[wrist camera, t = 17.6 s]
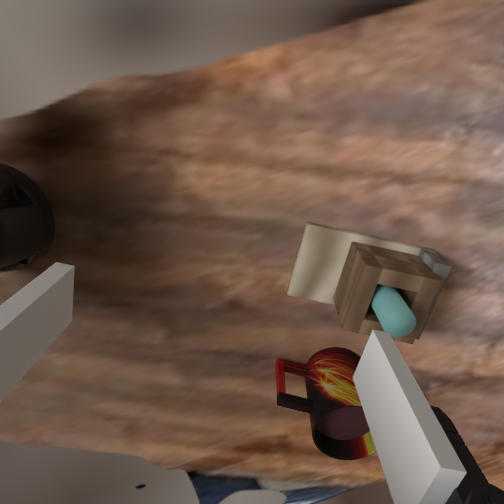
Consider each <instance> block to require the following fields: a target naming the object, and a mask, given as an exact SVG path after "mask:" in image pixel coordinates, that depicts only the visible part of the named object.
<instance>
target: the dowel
mask: <svg viewBox="0 0 504 504" xmlns="http://www.w3.org/2000/svg"><path fill="white" fill-rule="evenodd" d="M370 304H371V306H372V308H373V310H374V312H375V314H376V316H377V318H378V320H379V321H380V323H381V325H382V327H383V329H384V331H385V332H387V333H390V335H391V336H392V337H403V336H406V335H408V334H409V333H411V332H412V331H413V329H414V328H415V326H416V318H415V316H414V314H413V313H412V311H411V310H410V309H409V307H408V306H407V304H406V303H405V301H404V300H403V298H402V297H401V296H400V294H399V293H398V291H397V290H396V288H395V287H391V286H386V285H381V284H377V286H376V288H375V291H374V294H373V296H372V299H371V302H370Z"/></svg>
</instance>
